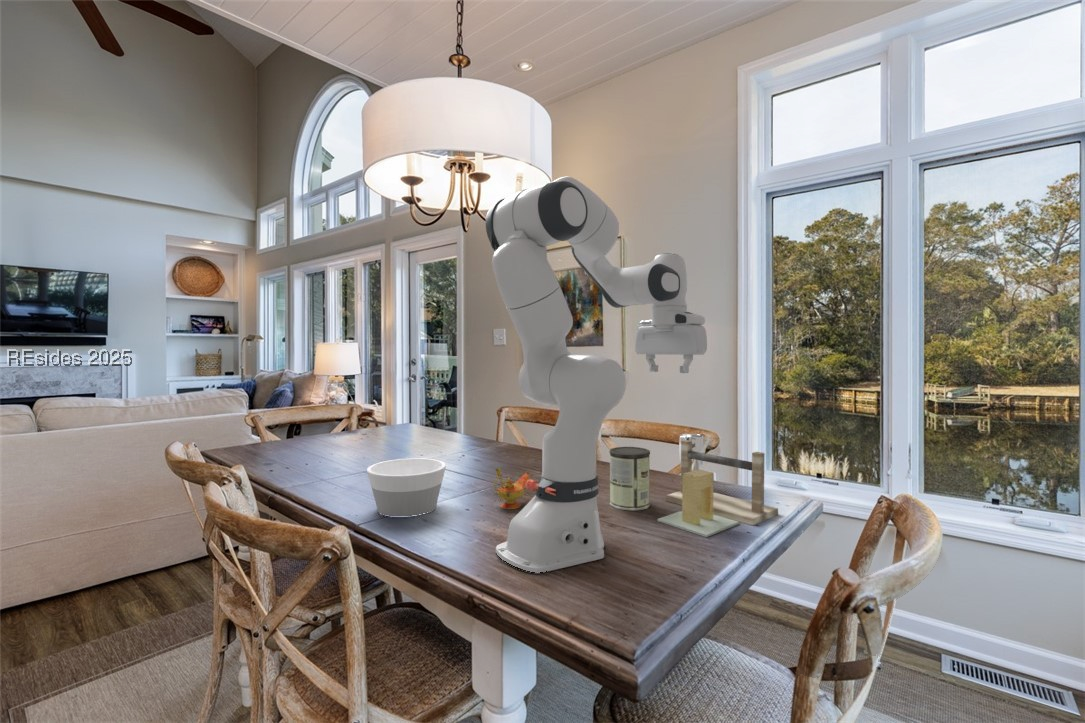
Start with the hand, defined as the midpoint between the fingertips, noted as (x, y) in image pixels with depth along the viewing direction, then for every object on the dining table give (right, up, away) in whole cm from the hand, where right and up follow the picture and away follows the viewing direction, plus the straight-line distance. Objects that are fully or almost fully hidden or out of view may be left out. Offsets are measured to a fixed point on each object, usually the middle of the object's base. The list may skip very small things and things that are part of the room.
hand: (668, 372), depth 129 cm
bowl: (-67, -34, -3) cm, 75 cm away
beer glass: (+11, -34, +17) cm, 40 cm away
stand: (+12, -34, -2) cm, 36 cm away
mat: (+3, -34, -13) cm, 37 cm away
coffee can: (-10, -34, 0) cm, 36 cm away
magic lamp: (-40, -34, +1) cm, 53 cm away
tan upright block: (+3, -34, -13) cm, 37 cm away
